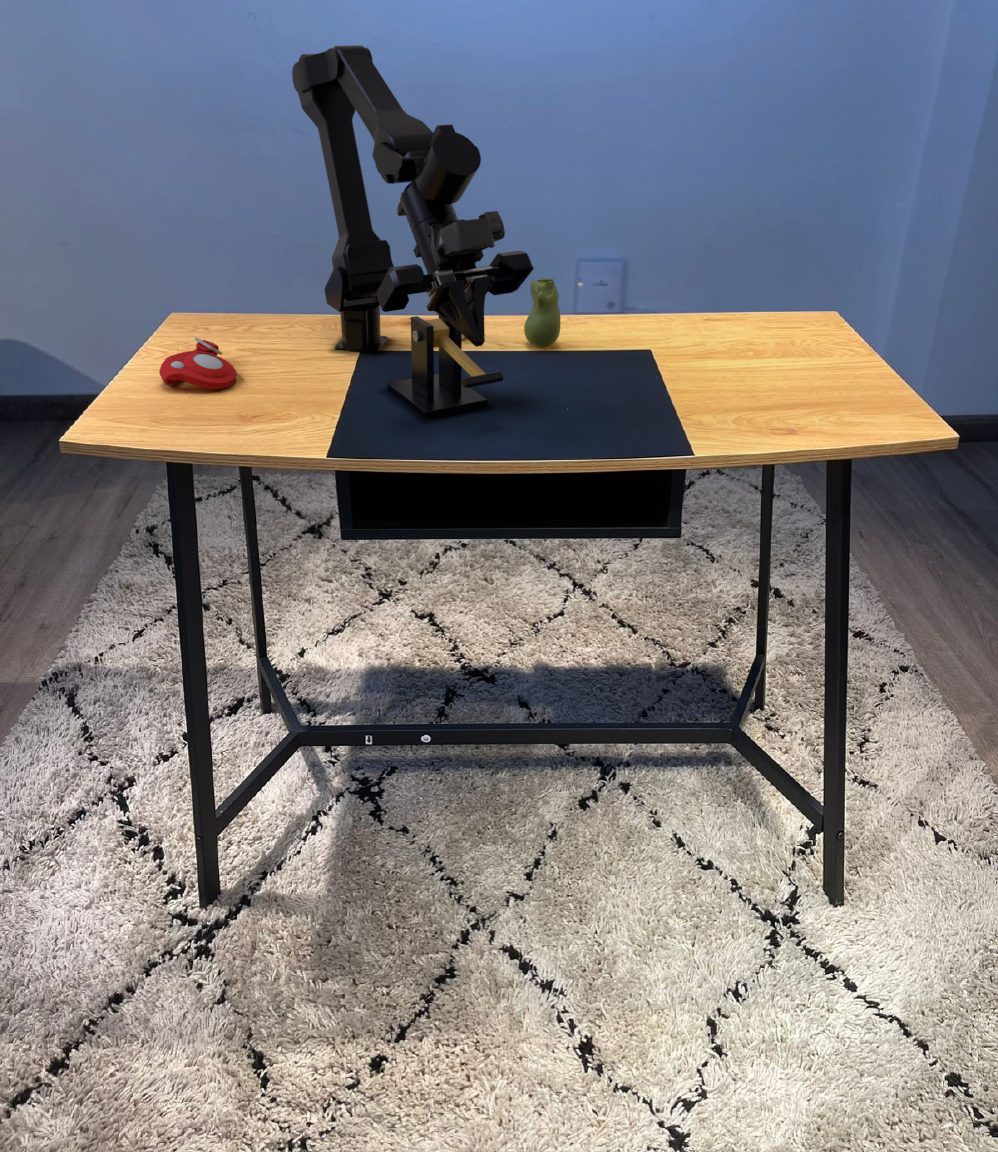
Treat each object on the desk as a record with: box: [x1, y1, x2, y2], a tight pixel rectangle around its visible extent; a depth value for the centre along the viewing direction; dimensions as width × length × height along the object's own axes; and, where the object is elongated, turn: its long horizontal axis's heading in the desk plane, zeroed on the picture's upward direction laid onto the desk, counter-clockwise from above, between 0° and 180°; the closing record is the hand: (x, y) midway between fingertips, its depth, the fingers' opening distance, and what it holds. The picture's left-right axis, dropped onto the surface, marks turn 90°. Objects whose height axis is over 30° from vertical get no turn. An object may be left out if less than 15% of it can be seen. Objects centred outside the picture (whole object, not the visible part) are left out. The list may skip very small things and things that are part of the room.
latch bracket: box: [386, 314, 488, 420], centre depth 131 cm, size 11×9×11 cm
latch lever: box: [424, 317, 504, 388], centre depth 126 cm, size 14×5×2 cm, turn 31°
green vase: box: [523, 277, 562, 348], centre depth 150 cm, size 6×5×10 cm
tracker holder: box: [158, 336, 237, 390], centre depth 137 cm, size 12×4×10 cm
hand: (480, 344), depth 120 cm, fingers closed
